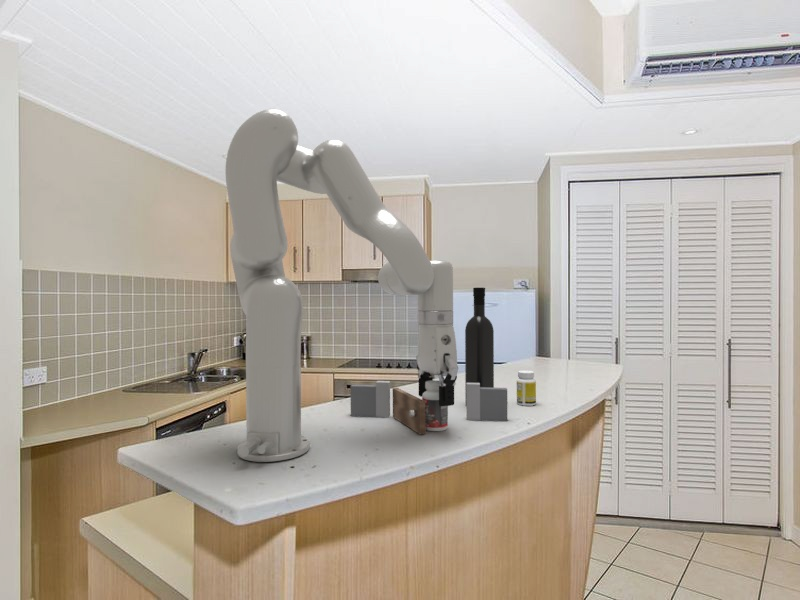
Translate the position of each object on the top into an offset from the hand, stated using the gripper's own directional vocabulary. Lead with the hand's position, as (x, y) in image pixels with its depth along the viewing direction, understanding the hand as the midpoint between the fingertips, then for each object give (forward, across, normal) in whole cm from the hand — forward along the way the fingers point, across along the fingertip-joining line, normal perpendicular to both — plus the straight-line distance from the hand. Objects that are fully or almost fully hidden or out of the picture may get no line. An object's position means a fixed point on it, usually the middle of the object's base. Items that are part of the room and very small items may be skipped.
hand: (435, 400), depth 96 cm
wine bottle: (+6, +12, -19) cm, 23 cm away
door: (+6, +4, +5) cm, 9 cm away
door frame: (+6, +8, -2) cm, 10 cm away
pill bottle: (+6, 0, 0) cm, 6 cm away
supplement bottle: (+6, +10, -31) cm, 33 cm away
